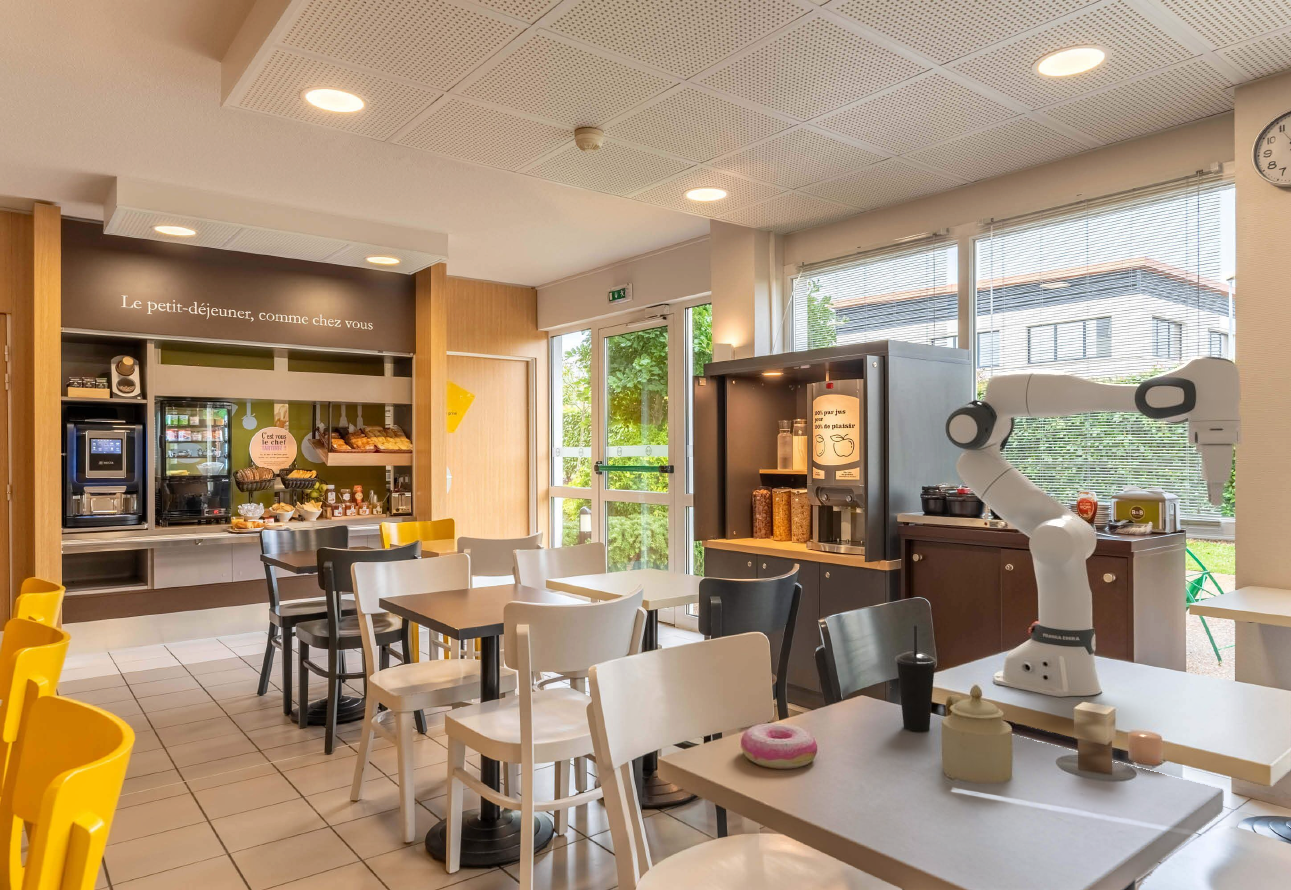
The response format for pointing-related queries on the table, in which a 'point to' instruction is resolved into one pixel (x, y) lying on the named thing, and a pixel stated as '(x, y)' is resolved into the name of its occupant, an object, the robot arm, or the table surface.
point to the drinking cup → (916, 687)
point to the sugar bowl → (976, 740)
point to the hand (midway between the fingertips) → (1215, 504)
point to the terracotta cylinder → (1145, 747)
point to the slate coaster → (1118, 772)
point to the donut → (779, 746)
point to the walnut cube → (1095, 757)
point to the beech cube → (1094, 723)
